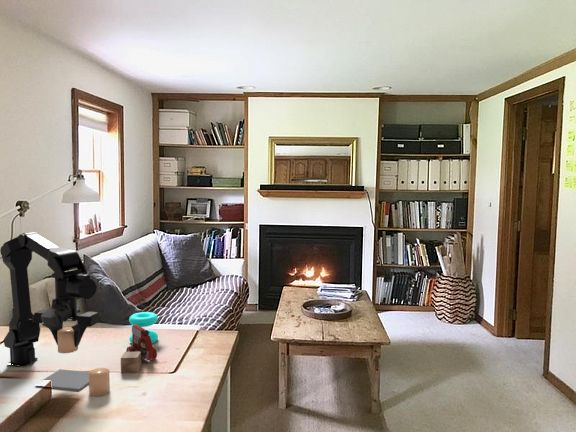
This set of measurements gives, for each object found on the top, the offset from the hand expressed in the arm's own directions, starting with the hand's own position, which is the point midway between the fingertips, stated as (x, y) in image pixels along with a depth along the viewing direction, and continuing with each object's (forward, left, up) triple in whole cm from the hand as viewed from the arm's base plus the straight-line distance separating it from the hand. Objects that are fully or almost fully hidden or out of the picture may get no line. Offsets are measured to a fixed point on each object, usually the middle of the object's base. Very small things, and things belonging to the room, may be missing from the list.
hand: (67, 345), depth 142 cm
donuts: (+6, +35, -11) cm, 37 cm away
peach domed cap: (+13, -5, -11) cm, 18 cm away
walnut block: (+14, +11, -11) cm, 21 cm away
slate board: (0, 0, -11) cm, 11 cm away
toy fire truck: (+13, +20, -11) cm, 26 cm away
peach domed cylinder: (0, 0, -1) cm, 1 cm away
